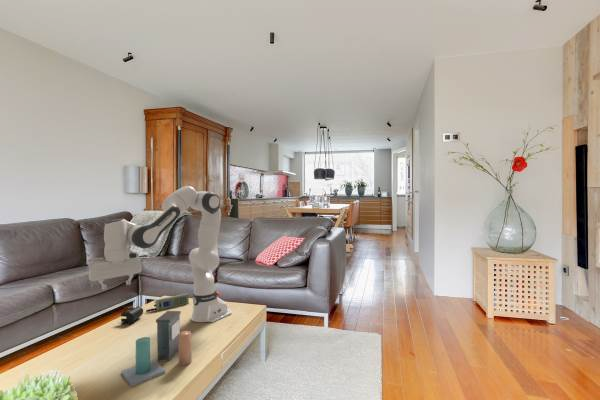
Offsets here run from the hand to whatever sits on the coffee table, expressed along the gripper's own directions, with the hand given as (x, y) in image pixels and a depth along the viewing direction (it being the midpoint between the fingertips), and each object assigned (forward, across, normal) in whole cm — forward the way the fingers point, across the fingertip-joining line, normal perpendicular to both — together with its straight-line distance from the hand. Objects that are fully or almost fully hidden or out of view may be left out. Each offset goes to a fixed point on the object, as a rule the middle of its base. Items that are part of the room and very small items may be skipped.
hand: (116, 286), depth 137 cm
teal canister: (+28, +2, -26) cm, 38 cm away
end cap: (+29, +16, +33) cm, 47 cm away
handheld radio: (+30, +38, +39) cm, 62 cm away
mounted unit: (+29, +15, -19) cm, 38 cm away
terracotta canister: (+29, +17, -30) cm, 45 cm away
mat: (+29, +2, -26) cm, 39 cm away
